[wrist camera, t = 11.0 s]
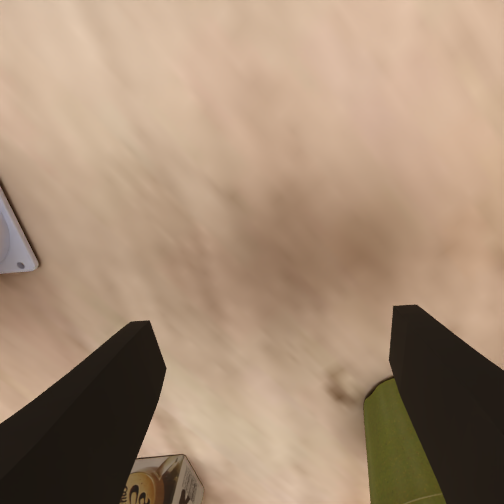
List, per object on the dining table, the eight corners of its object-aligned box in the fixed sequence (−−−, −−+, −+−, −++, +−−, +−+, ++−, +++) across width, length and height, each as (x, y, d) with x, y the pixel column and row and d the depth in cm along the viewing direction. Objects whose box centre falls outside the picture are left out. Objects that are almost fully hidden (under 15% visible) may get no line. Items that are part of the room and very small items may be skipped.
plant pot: (302, 400, 26) (316, 595, 16) (432, 321, 21) (567, 525, 11) (390, 465, 29) (449, 663, 19) (521, 409, 25) (686, 629, 15)
